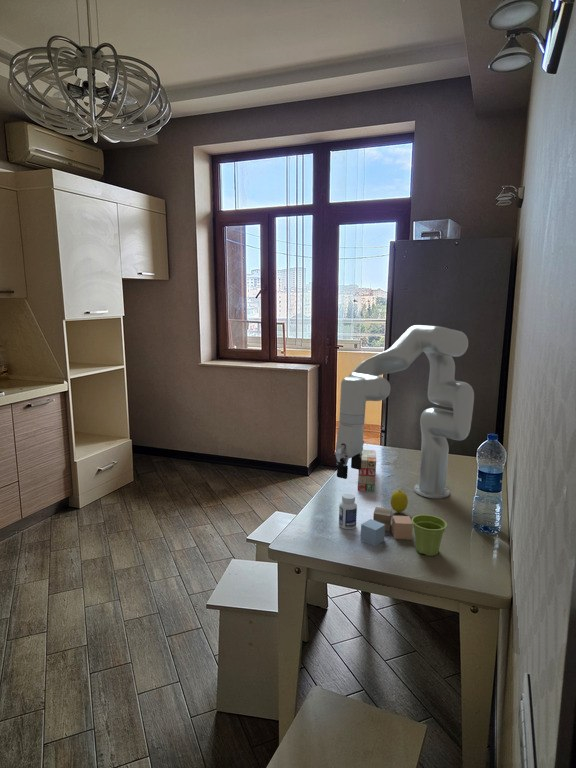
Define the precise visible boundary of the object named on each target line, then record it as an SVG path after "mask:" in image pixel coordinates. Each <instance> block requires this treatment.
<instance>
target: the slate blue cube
mask: <svg viewBox="0 0 576 768" xmlns="http://www.w3.org/2000/svg"><path fill="white" fill-rule="evenodd" d="M385 532H386V530H385V524H383V523H380V522H377V521H375V520H373V519H372V518H370V519H368V520H366V521H365V522H363V523H362V524H360V541H361V542H363V543H366V544H368V545H370V546H373V547H376V546H377V545H379V544H381V543H382V542H384V541H385V534H386V533H385Z"/></svg>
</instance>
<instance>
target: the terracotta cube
mask: <svg viewBox="0 0 576 768" xmlns="http://www.w3.org/2000/svg"><path fill="white" fill-rule="evenodd" d="M413 528H414V526H413V523H412V518H411V517H410V516H409V515H392V517H391V532H392V535H393V539H395V540H413V538H412V537H413Z"/></svg>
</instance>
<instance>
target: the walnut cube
mask: <svg viewBox="0 0 576 768" xmlns="http://www.w3.org/2000/svg"><path fill="white" fill-rule="evenodd" d="M392 513H393V508H387V507H380V506H379V507H378V506H375V508H374V510H373V519H372V520H375V521H377V522H380V523H383V524H385V532H386V531H387V532H389V531H390V529H391V527H392V516H393V515H392Z"/></svg>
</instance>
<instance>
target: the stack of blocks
mask: <svg viewBox="0 0 576 768" xmlns="http://www.w3.org/2000/svg"><path fill="white" fill-rule="evenodd" d="M376 453H377V452H376V450H375V449H373V450H371V449H363V450H362V460H361V469H360V470H358V474H357V475H358V477H357V478H358V479H357V491H359V492H360V491H361V492H372V493H373V492H375V490H376V489H375V488H376V475H377V474H376V473H377V471H376V470H377V454H376Z"/></svg>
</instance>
